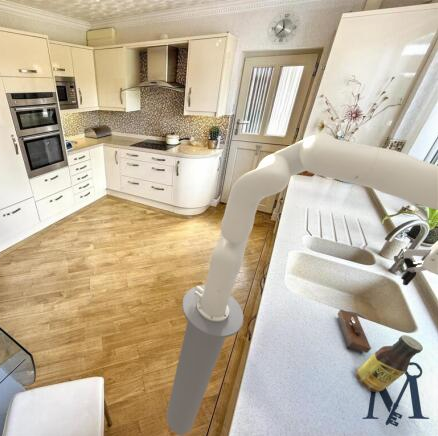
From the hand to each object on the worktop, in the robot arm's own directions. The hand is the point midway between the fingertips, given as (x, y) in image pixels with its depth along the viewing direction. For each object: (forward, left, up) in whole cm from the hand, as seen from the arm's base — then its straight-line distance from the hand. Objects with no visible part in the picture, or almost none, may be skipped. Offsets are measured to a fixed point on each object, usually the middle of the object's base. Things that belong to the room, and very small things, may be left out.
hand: (431, 293), depth 57 cm
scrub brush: (-5, +9, -32) cm, 34 cm away
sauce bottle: (+2, -5, -32) cm, 33 cm away
